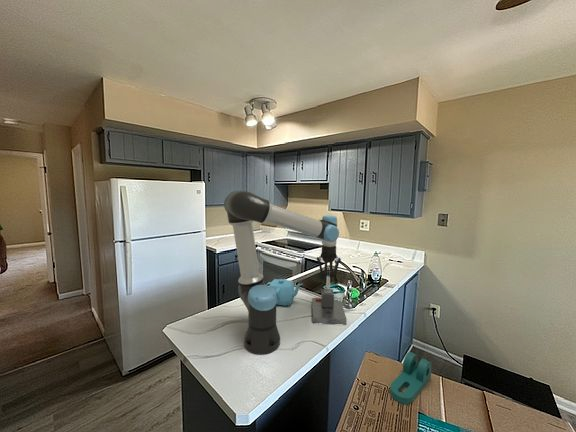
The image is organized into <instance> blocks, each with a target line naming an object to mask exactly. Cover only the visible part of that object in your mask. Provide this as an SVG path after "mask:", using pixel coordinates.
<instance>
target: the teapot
mask: <svg viewBox="0 0 576 432" xmlns="http://www.w3.org/2000/svg"><path fill="white" fill-rule="evenodd" d="M265 285H267V286H270V287H272V288H273V289H274V290H275V292H276V298H277V302H276V305H278V306H279V305H280V306H282V307H288V306H291V304H292V303H293V300H294V298H295V297H297V295H298V294H299V290H300V287H301V286H302V285H304V283H298V284H296V286H295V285H294V281H293V280H289V279H287V278H279V279H278V278H273V280H272V281H269V282H267V283H266V284H265ZM287 305H288V306H287Z"/></svg>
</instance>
